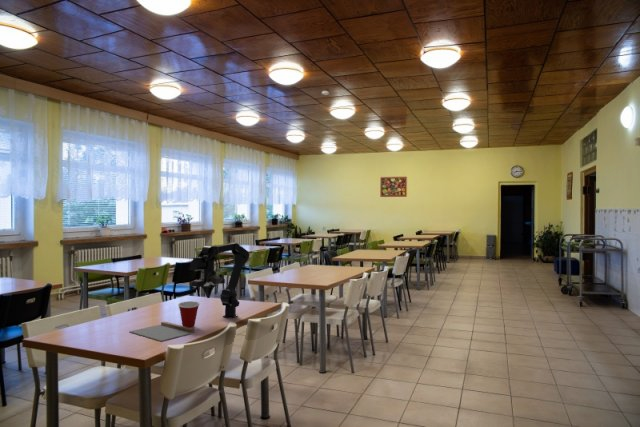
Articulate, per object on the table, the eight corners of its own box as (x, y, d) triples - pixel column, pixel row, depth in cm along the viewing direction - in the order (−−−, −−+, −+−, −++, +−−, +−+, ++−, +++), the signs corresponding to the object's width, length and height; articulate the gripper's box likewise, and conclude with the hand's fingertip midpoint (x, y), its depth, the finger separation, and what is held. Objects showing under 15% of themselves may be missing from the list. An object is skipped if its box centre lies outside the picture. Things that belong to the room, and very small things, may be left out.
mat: (159, 325, 230) (159, 324, 230) (192, 333, 214) (192, 332, 214) (129, 332, 216) (129, 331, 216) (161, 341, 201) (161, 340, 201)
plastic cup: (177, 329, 222) (177, 305, 222) (178, 324, 232) (178, 301, 232) (199, 328, 225) (199, 304, 225) (199, 323, 235) (199, 301, 235)
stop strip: (164, 325, 231) (164, 321, 231) (194, 332, 217) (194, 328, 217) (161, 325, 229) (161, 322, 229) (190, 333, 215) (190, 329, 215)
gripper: (204, 272, 226) (204, 302, 226) (232, 268, 241) (231, 297, 241) (190, 270, 233) (190, 299, 233) (218, 267, 248) (217, 295, 248)
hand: (208, 298), depth 238 cm, fingers closed
